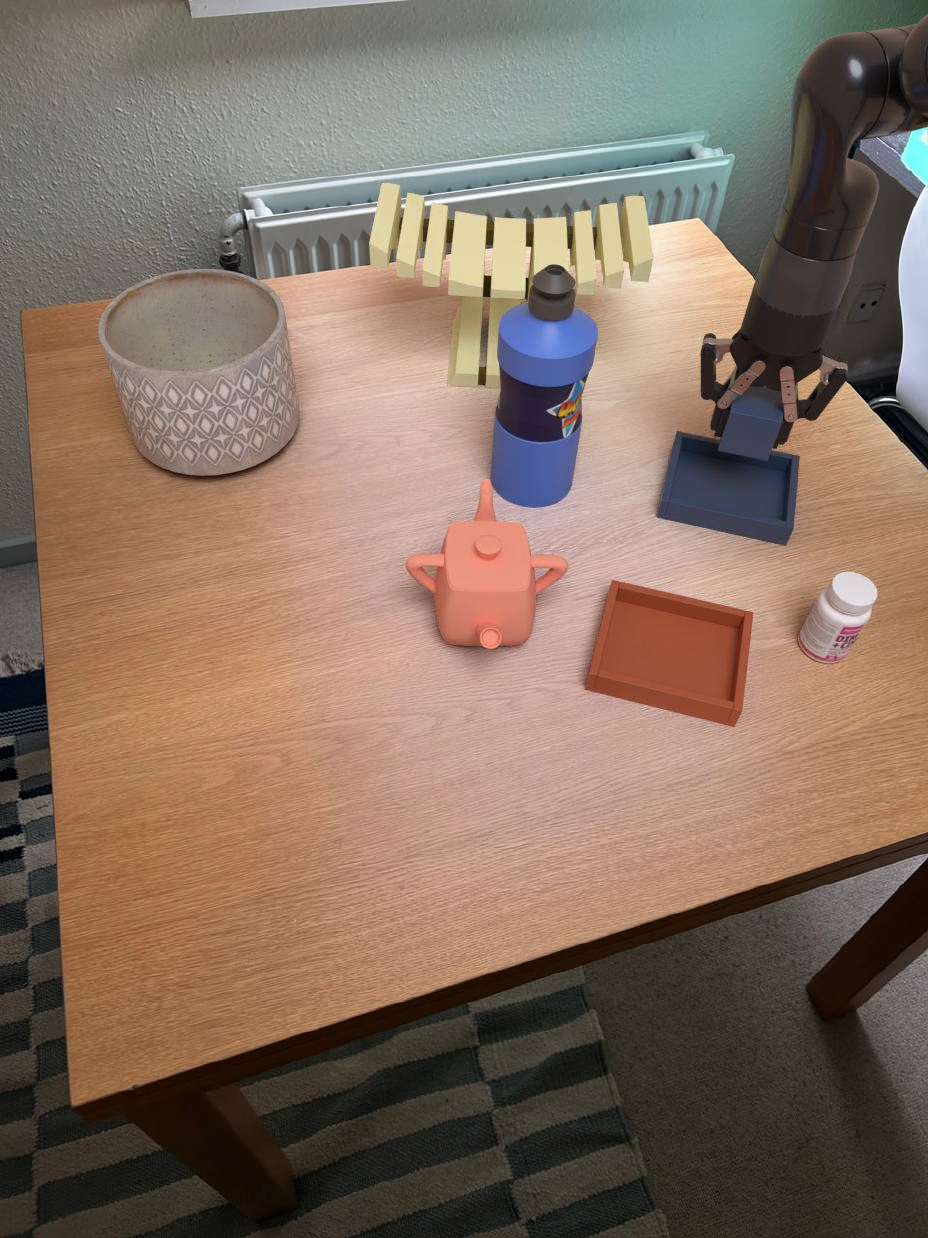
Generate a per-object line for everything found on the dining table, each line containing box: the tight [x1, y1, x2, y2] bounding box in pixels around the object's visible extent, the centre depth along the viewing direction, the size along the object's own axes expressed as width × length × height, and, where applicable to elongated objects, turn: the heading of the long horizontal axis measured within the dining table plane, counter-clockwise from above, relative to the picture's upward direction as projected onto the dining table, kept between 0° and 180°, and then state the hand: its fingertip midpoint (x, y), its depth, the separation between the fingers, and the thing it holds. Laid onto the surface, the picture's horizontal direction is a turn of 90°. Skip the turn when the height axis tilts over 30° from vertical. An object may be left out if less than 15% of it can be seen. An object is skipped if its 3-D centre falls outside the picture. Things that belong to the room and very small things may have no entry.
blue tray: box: [656, 430, 801, 546], centre depth 99 cm, size 14×12×3 cm
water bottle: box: [489, 264, 599, 508], centre depth 91 cm, size 9×9×25 cm
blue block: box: [718, 386, 784, 461], centre depth 92 cm, size 5×5×5 cm
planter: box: [97, 268, 300, 477], centre depth 99 cm, size 19×19×14 cm
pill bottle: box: [797, 571, 878, 664], centre depth 84 cm, size 5×5×8 cm
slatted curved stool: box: [368, 182, 654, 389], centre depth 108 cm, size 30×16×18 cm, turn 87°
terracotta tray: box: [584, 579, 754, 728], centre depth 85 cm, size 14×12×3 cm
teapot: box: [405, 478, 569, 650], centre depth 85 cm, size 14×12×10 cm
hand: (746, 437), depth 94 cm, fingers closed on blue block, 5 cm apart
